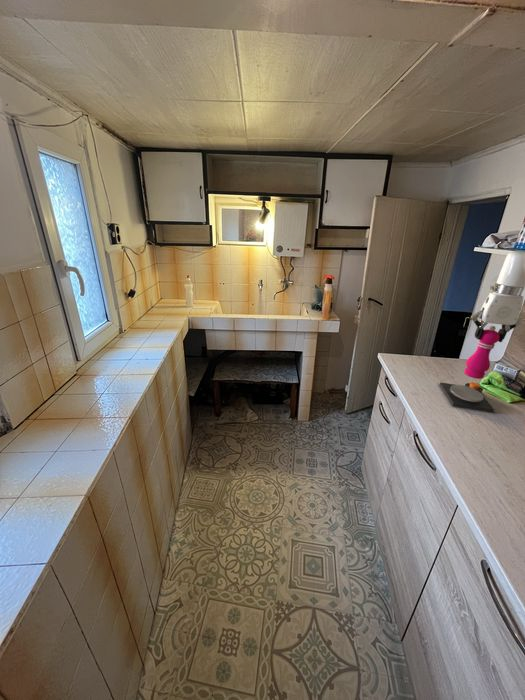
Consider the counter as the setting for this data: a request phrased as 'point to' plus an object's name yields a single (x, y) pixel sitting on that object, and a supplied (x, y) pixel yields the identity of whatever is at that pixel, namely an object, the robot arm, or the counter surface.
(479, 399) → the weighing plate
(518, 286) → the robot arm
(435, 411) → the counter surface
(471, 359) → the pepper mill
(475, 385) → the button
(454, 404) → the scale
